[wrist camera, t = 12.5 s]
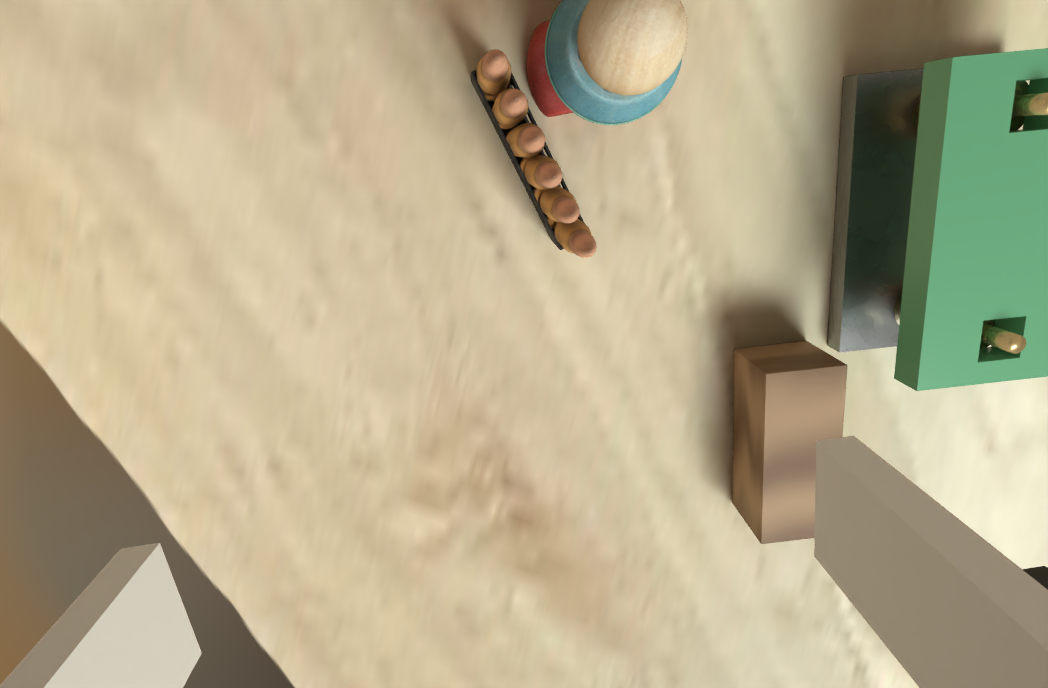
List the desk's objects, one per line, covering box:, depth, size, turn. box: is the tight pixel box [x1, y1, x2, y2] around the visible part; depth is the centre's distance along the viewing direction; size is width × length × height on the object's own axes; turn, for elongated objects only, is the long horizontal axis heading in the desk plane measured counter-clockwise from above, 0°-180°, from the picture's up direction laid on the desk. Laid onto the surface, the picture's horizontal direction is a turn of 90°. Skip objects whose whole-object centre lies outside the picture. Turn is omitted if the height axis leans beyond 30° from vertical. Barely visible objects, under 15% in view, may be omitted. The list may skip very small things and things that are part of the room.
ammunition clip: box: [471, 49, 596, 258], centre depth 32 cm, size 11×2×12 cm, turn 27°
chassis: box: [828, 68, 1048, 354], centre depth 36 cm, size 17×10×10 cm, turn 5°
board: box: [894, 48, 1048, 391], centre depth 33 cm, size 17×9×2 cm, turn 5°
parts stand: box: [732, 341, 847, 544], centre depth 42 cm, size 12×5×5 cm, turn 5°
